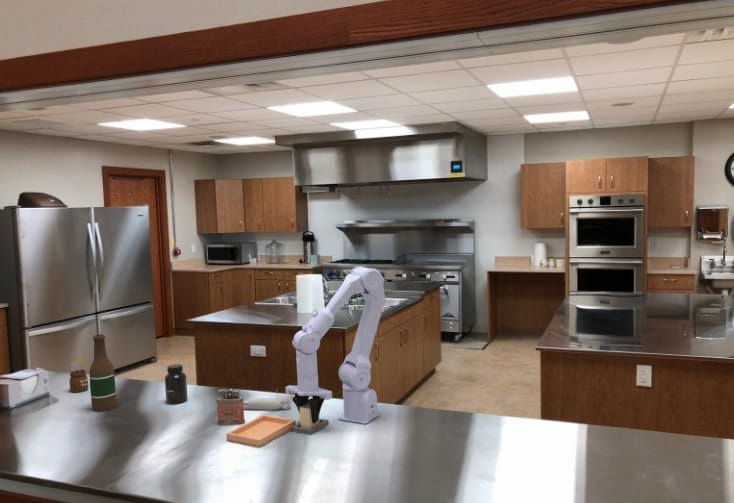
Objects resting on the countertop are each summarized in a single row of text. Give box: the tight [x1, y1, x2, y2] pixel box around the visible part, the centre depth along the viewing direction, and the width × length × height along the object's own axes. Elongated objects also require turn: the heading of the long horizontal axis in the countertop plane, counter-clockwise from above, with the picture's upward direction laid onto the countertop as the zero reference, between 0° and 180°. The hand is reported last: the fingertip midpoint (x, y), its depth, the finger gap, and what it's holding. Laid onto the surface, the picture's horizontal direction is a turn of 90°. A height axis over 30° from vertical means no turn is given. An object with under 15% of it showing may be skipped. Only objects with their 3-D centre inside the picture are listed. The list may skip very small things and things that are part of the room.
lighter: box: [215, 388, 246, 426], centre depth 173 cm, size 8×3×10 cm, turn 84°
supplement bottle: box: [164, 363, 188, 405], centre depth 195 cm, size 7×7×12 cm
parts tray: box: [225, 414, 297, 448], centre depth 164 cm, size 12×16×2 cm
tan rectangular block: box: [299, 403, 321, 429], centre depth 166 cm, size 3×5×6 cm, turn 150°
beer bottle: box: [88, 333, 117, 412], centre depth 191 cm, size 8×8×24 cm
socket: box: [291, 418, 329, 436], centre depth 166 cm, size 7×9×1 cm
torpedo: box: [243, 389, 291, 411], centre depth 184 cm, size 18×5×6 cm, turn 80°
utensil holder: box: [68, 355, 89, 394], centre depth 212 cm, size 6×6×12 cm
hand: (310, 421), depth 166 cm, fingers closed on tan rectangular block, 3 cm apart
